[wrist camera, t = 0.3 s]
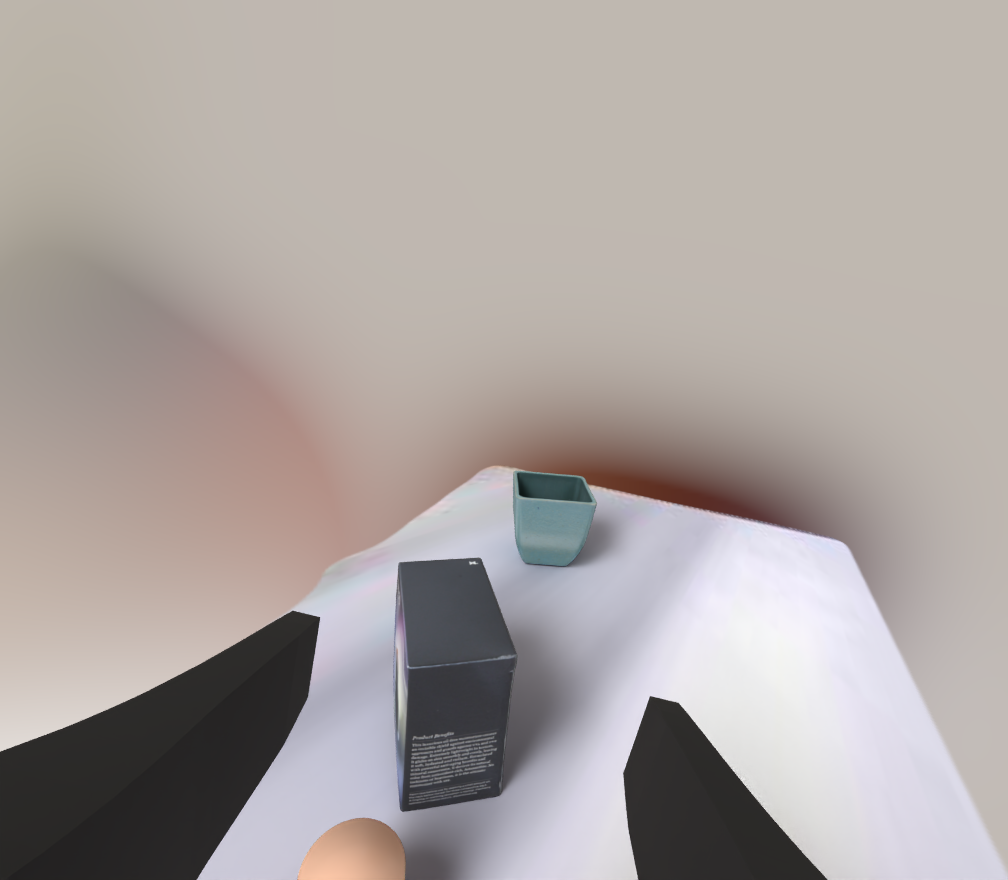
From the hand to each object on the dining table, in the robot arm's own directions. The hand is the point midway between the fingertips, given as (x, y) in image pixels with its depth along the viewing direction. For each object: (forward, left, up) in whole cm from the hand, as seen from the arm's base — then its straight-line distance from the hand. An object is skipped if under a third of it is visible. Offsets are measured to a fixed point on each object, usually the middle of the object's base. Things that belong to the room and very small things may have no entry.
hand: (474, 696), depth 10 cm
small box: (+18, +2, -21) cm, 28 cm away
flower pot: (+44, -6, -21) cm, 49 cm away
